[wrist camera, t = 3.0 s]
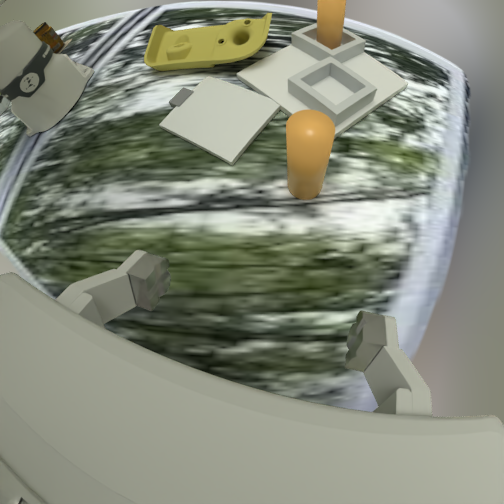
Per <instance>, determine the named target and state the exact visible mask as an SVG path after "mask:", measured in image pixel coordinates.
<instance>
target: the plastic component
mask: <svg viewBox="0 0 504 504" xmlns="http://www.w3.org/2000/svg"><path fill="white" fill-rule="evenodd" d="M271 16H272V13H267V14H266V15H265V16H264V17H263V18H262V19H249V18H248V19H241V20H235V21H232V22H229V23H228V24H226V25H219V26H208V27H199V28H192V29H185V30H179V31H173V30H171V29H169V28H167V27H164V26H162V25H157V26H155V27H154V28H153V31H152V34H151V37H150V40H149V43H148V46H147V49H146V52H145V56H144V62H145V64H146V65H148V66H150V67H152V68H154V69H156V70H158V71H168V70H178V69H191V68H211V67H214V66H215V64H223V63H230V62H235V61H239V60H243V59H245V58H248V57H250V56H252V55H254V54H255V53H257V52H258V50H260V49H261V48H262V46H263V45H264V44H265V42H266V39H267V35H268V31H269V26H270V21H271ZM221 41H224V42H223V43H222V44H221Z"/></svg>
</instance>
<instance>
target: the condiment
mask: <svg viewBox="0 0 504 504" xmlns="http://www.w3.org/2000/svg"><path fill="white" fill-rule="evenodd" d="M33 33H34V34H35V35H36V36H37V37H38V39H39V40H40V41H41V42H42V41H44V42H45V43H46V44H48V45H49V46H50V48H51V49H52V50H53V53H55V54H59V53H60V52H61V51H62V50H63V49H64V48H65V47H66V46H67V45H68V43H69V42H70V41H71V40H72V39H71V40H68V41H66V42H64V43H63V41H62V40H61V38H60V37H59V36H58V35H57V33H56V32H55V31H54V30H53V29H52V27H49V26H48V25H47V24H46V23H45V22H44V23H42V24H41V25H40V26H39V27H37V28H36V29H35V30H34V32H33Z"/></svg>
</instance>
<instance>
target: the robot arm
mask: <svg viewBox="0 0 504 504" xmlns="http://www.w3.org/2000/svg"><path fill="white" fill-rule="evenodd" d="M5 1H6V0H0V6H1V5H2V4H3V3H4V2H5ZM93 73H94V70H93V69H92V68H90V67H87V66H84V65H82V64H79V63H76V62H74V61H71V59H70V58H69V57H68V56H67V55H66V54H64V55H63V54H55V53H53V50H52V49H51V48H50V46H49V45H48V44H46V43H45V42H44V41H42V42H41V41H40V40H39V39H38V37H37V36H36V35H35V34H34V33H33V32H32V30H31V29H30V28H29V27H28V26H27V25H26V24H25V23H24V22H23V21H19V20H16V21H12V22H9V23H6V24H4V25H2V26H0V93H1V94H2V96H3V97H5V98H7V99H8V100H9V101H11V102H12V105H11V111H12V113H13V114H14V115H15V116H16V117H18V118H19V119H20V120H21V121H22V122H23V123H24V124H25V125H26V126H27V132H26V134H27V135H28V136H29V137H30V136H32V135H34V134H35V133H37V132H43V131H46V130H48V129H50V128H51V127H53V126H54V125H55V124H56V123H58V122H59V121H60V120H61V119H62V118H63V117H64V116H65V115H66V114H67V113H68V112H69V110H70V109H71V108H72V107H73V106H74V104H75V103H76V102H77V100H78V99H79V97H80V96H81V94H82V92H83V90H84V88H85V85H86V83H87V81H88V80H89V79H90V77H91V76H92V74H93ZM168 267H169V260H168V259H166V258H163V257H160V256H157V255H154V254H151V253H147V252H145V251H142V250H136V251H135V252H134V253H133V254H132V255H131V256H130V257H129V258H128V259H127V260H126V261H125V262H124V263H123V264H122V265H121V266H120V267H119V268H118V269H117V270H116V269H112V270H109V271H106V272H103V273H101V274H98V275H95V276H92V277H89V278H86V279H84V280H81V281H78V282H75V283H73V284H71V285H70V286H69V287H68V288H67V289H66V290H65V291H64V292H63V293H62V294H61V295H60V296H59V297H58V298H57V299H56V300H54V299H52V298H51V297H49V296H48V295H46V294H44V293H43V292H41V291H40V290H38V289H37V288H35V287H34V286H32V285H31V284H30V283H28V282H27V281H25V280H24V279H22V278H21V277H20V276H18V275H17V274H15V273H12V272H11V273H6V274H2V275H0V504H504V426H503V424H502V422H501V421H500V420H499V419H498V417H497V416H494V415H486V416H485V415H484V416H466V417H432V405H431V391H430V389H429V388H428V386H427V385H426V383H425V382H424V380H423V379H422V377H421V376H420V375H419V373H418V372H417V370H416V369H415V367H414V366H413V364H412V363H411V361H410V360H409V359H408V357H407V356H406V354H405V353H404V352H403V350H402V349H399V344H398V335H397V326H396V319H395V318H394V317H390V316H385V315H379V314H375V313H370V312H366V311H360V312H359V313H358V315H357V321H356V323H354V324H353V325H352V327H351V329H350V331H349V334H348V338H347V347H348V349H349V350H348V352H347V354H346V361H345V368H348V369H352V370H357V371H361V372H364V375H365V377H366V380H367V382H368V384H369V386H370V388H371V390H372V393H373V395H374V397H375V399H376V402H377V404H378V406H379V407H378V408H377V409H376V410H374V411H373V412H367V411H360V410H353V409H346V408H340V407H334V406H329V405H324V404H318V403H313V402H309V401H304V400H299V399H295V398H291V397H287V396H282V395H278V394H275V393H271V392H267V391H263V390H260V389H256V388H253V387H249V386H246V385H242V384H239V383H236V382H233V381H230V380H226V379H223V378H220V377H217V376H214V375H212V374H209V373H206V372H203V371H200V370H198V369H195V368H192V367H190V366H187V365H184V364H182V363H179V362H177V361H174V360H172V359H169V358H167V357H164V356H162V355H160V354H157V353H155V352H153V351H150V350H148V349H146V348H144V347H141V346H139V345H137V344H135V343H133V342H131V341H129V340H126V339H124V338H122V337H120V336H118V335H116V334H114V333H112V332H110V331H108V330H106V328H105V326H104V323H106V322H108V321H110V320H112V319H114V318H115V317H117V316H119V315H121V314H123V313H125V312H126V311H128V310H130V309H132V308H134V307H136V305H137V306H139V307H142V308H145V309H148V310H150V311H152V310H153V309H154V308H155V306H156V305H157V304H158V303H159V301H160V300H159V296H162V295H164V294H165V293H166V292H167V290H168V288H169V286H170V281H171V276H170V273H169V272H168V270H167V269H168Z"/></svg>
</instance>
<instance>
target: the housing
mask: <svg viewBox="0 0 504 504" xmlns="http://www.w3.org/2000/svg"><path fill="white" fill-rule="evenodd" d="M345 5H346V0H318V10H317V23H315V24H313V25H310V26H308V27H305V28H302V29H300V30H298V31H295V32H293V33H291V34H292V45H290V46H288V47H285V48H283V49H281V50H279V51H277V52H275V53H273V54H271V55H269V56H267V57H265V58H263V59H262V60H260V61H258V62H256V63H254V64H252V65H251V66H249V67H247V68H245V69H243V70H242V71H240V72H238V73H237V78H238V79H239V80H240V81H242V82H243V83H245V84H246V85H248V86H249V87H251V88H252V89H253V90H255V91H256V92H258V93H259V94H260V95H263V96H265V97H268V98H270V99H272V100H273V101H275V102H276V103H277V104H279V105H280V110H282V111H283V112H284V113H285V114H287V115H288V116H289V117H290V116H291V115H293V114H294V113H296V112H298V111H301V110H307V109H308V110H316V111H320V112H322V113H324V114H325V115H327V116H328V117H329V118H330V119H331V120H332V121H333V123H334V126H335V136H334V139H335V138H336V137H338V136H339V135H340V134H342V133H343V132H345V131H346V130H347V129H349V128H350V127H351V126H353V125H354V124H356V123H357V122H358V121H360V120H361V119H362V118H364V117H365V116H367V115H368V114H369V113H371V112H372V111H374V110H375V109H376V108H378V107H379V106H381V105H382V104H384V103H385V102H386V101H388V100H389V99H391V98H392V97H394V96H395V95H397V94H398V93H399V92H401V91H402V90H404V89H405V88H406V87H407V85H408V83H407V82H406V81H405V80H403V79H402V78H401V77H399V76H398V75H397V74H395V73H394V72H393V71H391V70H390V69H388V68H387V67H386V66H384V65H383V64H381V63H380V62H378V61H377V60H375V59H374V58H372V57H371V56H369V55H368V54H366V53H365V52H364V48H365V43H366V41H365V40H364V39H362V38H360V37H359V36H357V35H355V34H353V33H351V32H350V31H348V30H346V29H344V28H343V25H344V15H345Z"/></svg>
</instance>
